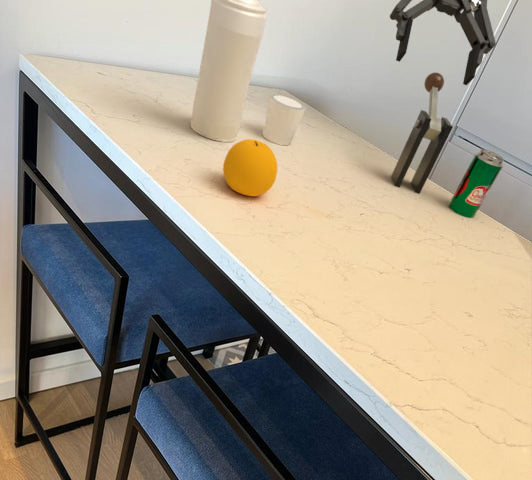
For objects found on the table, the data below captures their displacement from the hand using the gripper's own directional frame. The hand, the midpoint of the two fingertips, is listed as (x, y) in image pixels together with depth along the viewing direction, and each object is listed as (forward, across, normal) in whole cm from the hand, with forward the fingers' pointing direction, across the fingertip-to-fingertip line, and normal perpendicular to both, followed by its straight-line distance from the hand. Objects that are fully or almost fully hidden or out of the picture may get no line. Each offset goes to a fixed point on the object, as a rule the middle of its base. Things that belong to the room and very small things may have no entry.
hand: (435, 69), depth 104 cm
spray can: (+23, +36, -4) cm, 43 cm away
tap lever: (+9, 0, +1) cm, 9 cm away
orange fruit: (+36, +29, +9) cm, 48 cm away
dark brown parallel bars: (+22, 0, -4) cm, 23 cm away
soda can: (+25, -10, -2) cm, 27 cm away
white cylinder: (+17, +24, -10) cm, 31 cm away
